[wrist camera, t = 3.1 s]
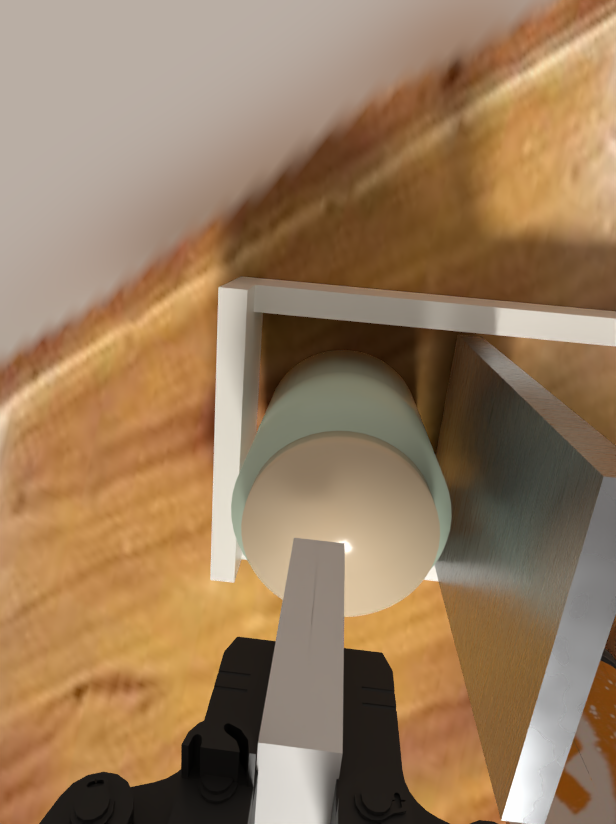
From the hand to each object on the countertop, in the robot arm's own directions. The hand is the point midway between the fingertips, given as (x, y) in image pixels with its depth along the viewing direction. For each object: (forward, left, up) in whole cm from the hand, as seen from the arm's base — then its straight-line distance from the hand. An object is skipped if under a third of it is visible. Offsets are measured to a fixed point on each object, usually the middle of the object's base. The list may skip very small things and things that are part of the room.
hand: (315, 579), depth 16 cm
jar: (+1, 0, -14) cm, 14 cm away
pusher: (+7, 0, -14) cm, 15 cm away
